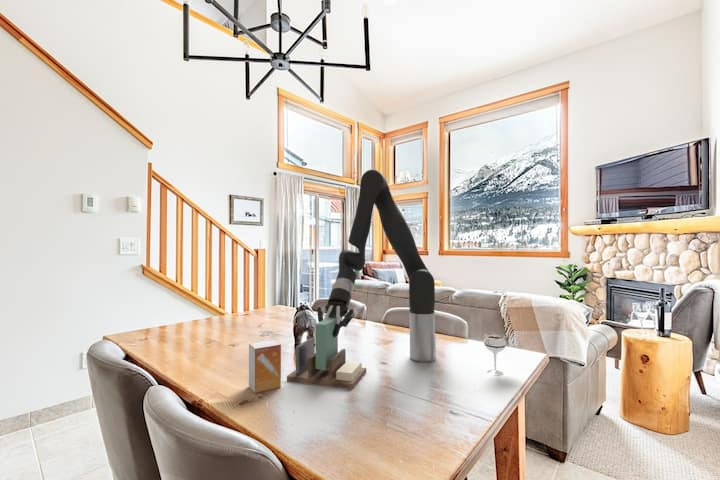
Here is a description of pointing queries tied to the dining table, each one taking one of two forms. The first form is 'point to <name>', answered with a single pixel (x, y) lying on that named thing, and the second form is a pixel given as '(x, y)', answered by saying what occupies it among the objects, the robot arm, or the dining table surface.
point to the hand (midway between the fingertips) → (328, 335)
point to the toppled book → (349, 371)
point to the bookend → (304, 355)
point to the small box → (264, 366)
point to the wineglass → (495, 348)
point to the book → (325, 343)
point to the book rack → (326, 373)
